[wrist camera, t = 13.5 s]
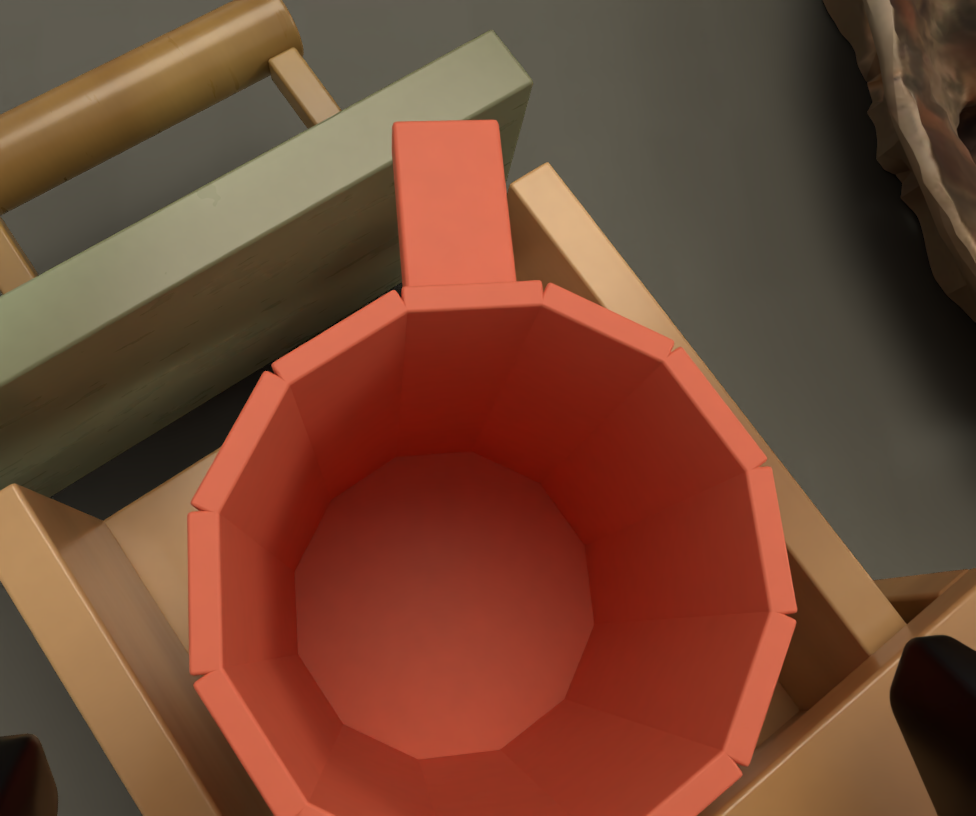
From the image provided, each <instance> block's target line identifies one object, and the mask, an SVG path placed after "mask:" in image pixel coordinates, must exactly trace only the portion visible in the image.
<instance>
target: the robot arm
mask: <svg viewBox="0 0 976 816" xmlns="http://www.w3.org/2000/svg"><path fill="white" fill-rule="evenodd" d="M889 698H890V705H891V709H892V712H893V715H894V717H895V719H896V722H897V724H898V726H899V728H900V731H901V733H902V735H903V738H904V740H905V742H906V744H907V747H908V749H909V751H910V754H911V756H912V758H913V760H914V763H915V765H916V767H917V770H918V772H919V774H920V776H921V779H922V781H923V783H924V786H925V788H926V790H927V792H928V795H929V797H930V799H931V802H932V804H933V806H934V808H935V811H936V813H937V815H938V816H976V651H975V650H973V649H972V648H970V647H968V646H967V645H965V644H963V643H962V642H960V641H958V640H956V639H955V638H953V637H950V636H947V635H932V636H923V637H915V638H912V639H910V640H909V641H908V642H907V643H906V644H905V647H904V649H903V652H902V655H901V658H900V661H899V663H898V666H897V669H896V672H895V675H894V678H893V681H892V684H891V687H890V695H889ZM57 812H58V793H57V787H56V784H55V781H54V778H53V776H52V773H51V770H50V767H49V765H48V762H47V759H46V756H45V753H44V751H43V748H42V745H41V743H40V741H39V739H38V738H37V737H36V736H35V735H33V734H20V735H11V736H2V737H0V816H57Z"/></svg>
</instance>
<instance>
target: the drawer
mask: <svg viewBox="0 0 976 816" xmlns="http://www.w3.org/2000/svg"><path fill="white" fill-rule="evenodd" d="M303 53H304V52H303V45H302V41H301V38H300V35H299V32H298V29H297V27H296V25H295V22H294V20H293V18H292V16H291V14H290V13H289V11H288V9H287V8H286V6H285V4H284V3H283V1H282V0H233V1H231V2H229V3H227V4H225V5H223V6H221V7H219V8H217V9H215V10H213V11H211V12H209V13H207V14H205V15H203V16H201V17H199V18H197V19H195V20H192V21H190V22H188V23H186V24H184V25H182V26H180V27H178V28H176V29H174V30H172V31H170V32H168V33H166V34H164V35H162V36H160V37H158V38H156V39H154V40H152V41H150V42H148V43H146V44H144V45H142V46H139V47H137V48H135V49H133V50H131V51H129V52H127V53H125V54H123V55H121V56H119V57H117V58H115V59H113V60H111V61H109V62H107V63H105V64H103V65H101V66H99V67H97V68H95V69H93V70H91V71H89V72H86V73H84V74H82V75H80V76H78V77H76V78H74V79H72V80H70V81H68V82H66V83H64V84H62V85H60V86H58V87H56V88H54V89H52V90H50V91H48V92H46V93H44V94H42V95H40V96H38V97H36V98H33V99H31V100H29V101H27V102H25V103H23V104H21V105H19V106H17V107H15V108H13V109H11V110H9V111H7V112H5V113H3V114H1V115H0V216H1V215H3V214H5V213H6V212H8V211H10V210H12V209H14V208H16V207H18V206H20V205H22V204H24V203H26V202H28V201H30V200H31V199H33V198H35V197H37V196H39V195H41V194H43V193H45V192H47V191H49V190H51V189H53V188H55V187H56V186H58V185H60V184H62V183H64V182H66V181H68V180H70V179H72V178H74V177H76V176H78V175H80V174H81V173H83V172H85V171H87V170H89V169H91V168H93V167H95V166H97V165H99V164H101V163H103V162H105V161H106V160H108V159H110V158H112V157H114V156H116V155H118V154H120V153H122V152H124V151H126V150H128V149H130V148H131V147H133V146H135V145H137V144H139V143H141V142H143V141H145V140H147V139H149V138H151V137H153V136H155V135H156V134H158V133H160V132H162V131H164V130H166V129H168V128H170V127H172V126H174V125H176V124H178V123H180V122H181V121H183V120H185V119H187V118H189V117H191V116H193V115H195V114H197V113H199V112H201V111H203V110H205V109H206V108H208V107H210V106H212V105H214V104H216V103H218V102H220V101H222V100H224V99H226V98H228V97H229V96H231V95H233V94H235V93H237V92H239V91H241V90H243V89H245V88H247V87H249V86H251V85H253V84H254V83H256V82H258V81H260V80H262V79H264V78H266V77H268V76H270V75H271V78H272V80H273V82H274V83H275V84H276V86H277V87H278V89H279V90H280V91H281V93H282V94H283V95H284V97H285V98H286V100H287V101H288V102H289V104H290V105H291V106H292V108H293V109H294V110H295V112H296V113H297V115H298V116H299V117H300V119H301V120H302V121H303V123H304V124H305V126H306V127H307V128H308V129H307V130H305V131H303V132H302V133H300V134H298V135H296V136H294V137H292V138H291V139H289V140H287V141H285V142H283V143H281V144H280V145H278V146H276V147H274V148H272V149H270V150H269V151H267V152H265V153H263V154H261V155H259V156H258V157H256V158H254V159H252V160H250V161H248V162H246V163H245V164H243V165H241V166H239V167H237V168H235V169H234V170H232V171H230V172H228V173H226V174H224V175H223V176H221V177H219V178H217V179H215V180H213V181H212V182H210V183H208V184H206V185H204V186H202V187H200V188H199V189H197V190H195V191H193V192H191V193H189V194H188V195H186V196H184V197H182V198H180V199H178V200H177V201H175V202H173V203H171V204H169V205H167V206H166V207H164V208H162V209H160V210H158V211H156V212H155V213H153V214H151V215H149V216H147V217H145V218H143V219H142V220H140V221H138V222H136V223H134V224H132V225H131V226H129V227H127V228H125V229H123V230H121V231H120V232H118V233H116V234H114V235H112V236H110V237H109V238H107V239H105V240H103V241H101V242H99V243H98V244H96V245H94V246H92V247H90V248H88V249H86V250H85V251H83V252H81V253H79V254H77V255H75V256H74V257H72V258H70V259H68V260H66V261H64V262H63V263H61V264H59V265H57V266H55V267H53V268H52V269H50V270H48V271H46V272H44V273H42V274H41V275H38V273H37V272H36V270H35V269H34V267H33V265H32V264H31V262H30V261H29V259H28V258H27V256H26V255H25V253H24V252H23V250H22V249H21V247H20V246H19V244H18V242H17V241H16V239H15V238H14V236H13V235H12V233H11V232H10V230H9V229H8V227H7V226H6V224H5V223H4V221H3V220H2V218H1V217H0V292H1V293H2V296H0V581H1V583H2V584H3V586H4V588H5V589H6V591H7V592H8V594H9V596H10V597H11V599H12V601H13V602H14V604H15V606H16V607H17V609H18V611H19V612H20V614H21V616H22V617H23V619H24V621H25V622H26V624H27V625H28V627H29V629H30V630H31V632H32V634H33V635H34V637H35V639H36V640H37V642H38V644H39V645H40V647H41V649H42V650H43V652H44V654H45V655H46V657H47V658H48V660H49V662H50V663H51V665H52V667H53V668H54V670H55V672H56V673H57V675H58V677H59V678H60V680H61V682H62V683H63V685H64V686H65V688H66V690H67V691H68V693H69V695H70V696H71V698H72V700H73V701H74V703H75V705H76V706H77V708H78V710H79V711H80V713H81V715H82V716H83V718H84V719H85V721H86V723H87V724H88V726H89V728H90V729H91V731H92V733H93V734H94V736H95V738H96V739H97V741H98V743H99V744H100V746H101V748H102V749H103V751H104V752H105V754H106V756H107V757H108V759H109V761H110V762H111V764H112V766H113V767H114V769H115V771H116V772H117V774H118V776H119V777H120V779H121V781H122V782H123V784H124V785H125V787H126V789H127V790H128V792H129V794H130V795H131V797H132V799H133V800H134V802H135V804H136V805H137V807H138V809H139V810H140V812H141V814H142V815H143V816H274V815H273V813H272V812H271V810H270V809H269V807H268V805H267V804H266V802H265V801H264V799H263V797H262V796H261V794H260V793H259V791H258V789H257V788H256V786H255V785H254V783H253V782H252V780H251V778H250V777H249V775H248V774H247V772H246V770H245V769H244V767H243V766H242V764H241V762H240V761H239V759H238V758H237V756H236V754H235V753H234V751H233V750H232V748H231V746H230V745H229V743H228V742H227V740H226V738H225V737H224V735H223V734H222V732H221V730H220V729H219V727H218V726H217V724H216V722H215V721H214V719H213V718H212V716H211V714H210V713H209V711H208V710H207V708H206V706H205V705H204V703H203V702H202V700H201V698H200V697H199V695H198V694H197V692H196V690H195V689H194V686H193V684H194V683H195V681H197V680H198V679H200V678H201V677H202V676H204V675H196V676H193V675H190V673H189V621H188V550H187V515H188V513H189V512H193V511H199V510H197V509H196V508H194V507H193V506H192V505H191V500H192V498H193V496H194V495H195V493H196V491H197V489H198V487H199V486H200V484H201V482H202V480H203V479H204V477H205V475H206V473H207V471H208V470H209V468H210V466H211V464H212V463H213V461H214V459H215V457H216V455H217V454H218V452H219V450H220V448H221V447H220V448H218V449H216V450H215V451H213V452H212V453H210V454H208V455H207V456H205V457H204V458H202V459H201V460H199V461H197V462H196V463H194V464H193V465H191V466H189V467H188V468H186V469H185V470H183V471H181V472H180V473H178V474H177V475H175V476H173V477H172V478H170V479H169V480H167V481H165V482H164V483H162V484H161V485H159V486H158V487H156V488H154V489H153V490H151V491H150V492H148V493H146V494H145V495H143V496H142V497H140V498H138V499H137V500H135V501H134V502H132V503H130V504H129V505H127V506H126V507H124V508H123V509H121V510H119V511H118V512H116V513H115V514H113V515H111V516H110V517H108V518H107V519H105V520H103V521H102V520H100V519H98V518H96V517H93V516H91V515H89V514H86V513H84V512H81V511H79V510H77V509H74V508H72V507H70V506H67V505H65V504H63V503H60V502H58V501H56V500H53V499H51V498H49V497H51V496H53V495H54V494H56V493H58V492H59V491H61V490H62V489H64V488H66V487H67V486H69V485H71V484H72V483H74V482H76V481H77V480H79V479H80V478H82V477H84V476H85V475H87V474H89V473H90V472H92V471H94V470H95V469H97V468H98V467H100V466H102V465H103V464H105V463H107V462H108V461H110V460H112V459H113V458H115V457H116V456H118V455H120V454H121V453H123V452H125V451H126V450H128V449H129V448H131V447H133V446H134V445H136V444H138V443H139V442H141V441H143V440H144V439H146V438H147V437H149V436H151V435H152V434H154V433H156V432H157V431H159V430H161V429H162V428H164V427H165V426H167V425H169V424H170V423H172V422H174V421H175V420H177V419H179V418H180V417H182V416H183V415H185V414H187V413H188V412H190V411H192V410H193V409H195V408H197V407H198V406H200V405H201V404H203V403H205V402H206V401H208V400H210V399H211V398H213V397H215V396H216V395H218V394H219V393H221V392H223V391H224V390H226V389H228V388H229V387H231V386H233V385H234V384H236V383H237V382H239V381H241V380H242V379H244V378H246V377H247V376H249V375H250V374H252V373H254V372H255V371H257V370H259V369H260V368H262V367H264V366H265V365H267V364H268V363H270V362H272V361H273V360H275V359H277V358H278V357H280V356H282V355H283V354H285V353H286V352H288V351H290V350H291V349H293V348H295V347H296V346H298V345H300V344H301V343H303V342H304V341H306V340H308V339H309V338H311V337H313V336H314V335H316V334H318V333H319V332H321V331H322V330H324V329H326V328H327V327H329V326H331V325H332V324H334V323H336V322H337V321H339V320H340V319H342V318H344V317H345V316H347V315H349V314H350V313H352V312H354V311H355V310H357V309H358V308H360V307H362V306H363V305H365V304H367V303H368V302H370V301H372V300H373V299H375V298H376V297H378V296H380V295H381V294H383V293H385V292H386V291H388V290H389V289H391V288H393V287H394V286H396V285H398V284H399V283H401V282H402V273H401V260H400V248H399V235H398V222H397V210H396V197H395V184H394V172H393V159H392V126H393V123H394V122H400V121H449V120H497V122H498V124H499V130H500V139H501V148H502V157H503V166H504V174H505V183H506V181H507V177H508V173H509V170H510V166H511V162H512V159H513V155H514V151H515V148H516V144H517V140H518V137H519V133H520V129H521V126H522V122H523V118H524V115H525V111H526V107H527V104H528V100H529V96H530V93H531V89H532V85H533V81H532V79H531V78H530V76H529V75H528V74H527V73H526V71H525V70H524V69H523V68H522V66H521V65H520V64H519V62H518V61H517V60H516V59H515V57H514V56H513V55H512V54H511V52H510V51H509V50H508V48H507V47H506V46H505V45H504V43H503V42H502V41H501V40H500V38H499V37H498V36H497V34H496V33H495V32H494V31H493V30H489V31H487V32H486V33H484V34H482V35H480V36H478V37H476V38H474V39H473V40H471V41H469V42H467V43H465V44H463V45H462V46H460V47H458V48H456V49H454V50H452V51H451V52H449V53H447V54H445V55H443V56H441V57H440V58H438V59H436V60H434V61H432V62H430V63H429V64H427V65H425V66H423V67H421V68H419V69H417V70H416V71H414V72H412V73H410V74H408V75H406V76H405V77H403V78H401V79H399V80H397V81H395V82H394V83H392V84H390V85H388V86H386V87H384V88H383V89H381V90H379V91H377V92H375V93H373V94H372V95H370V96H368V97H366V98H364V99H362V100H360V101H359V102H357V103H355V104H353V105H351V106H349V107H348V108H346V109H344V110H341V109H340V107H339V106H338V105H337V103H336V102H335V101H334V99H333V98H332V97H331V95H330V94H329V93H328V91H327V90H326V88H325V87H324V86H323V84H322V83H321V82H320V80H319V79H318V78H317V76H316V75H315V74H314V72H313V71H312V70H311V68H310V67H309V66H308V64H307V63H306V61H305V60H304V59H303ZM507 201H508V210H509V218H510V227H511V236H512V245H513V254H514V263H515V271H516V280H517V281H533V280H540V281H541V282H542V286H543V292H544V290H545V288H546V286H547V284H548V283H553V284H555V285H557V286H560V287H562V288H564V289H566V290H568V291H570V292H572V293H574V294H577V295H579V296H581V297H583V298H585V299H587V300H589V301H591V302H594V303H596V304H598V305H600V306H602V307H604V308H606V309H608V310H611V311H613V312H615V313H617V314H619V315H621V316H623V317H625V318H628V319H630V320H632V321H634V322H636V323H638V324H640V325H642V326H645V327H647V328H649V329H651V330H653V331H655V332H657V333H659V334H662V335H664V336H666V337H668V338H670V339H672V340H674V346H673V349H672V351H674V350H675V349H676V348H678V347H682V348H683V349H684V350H685V351H686V353H687V354H688V355H689V356H690V358H691V359H692V360H693V362H694V363H695V364H696V366H697V367H698V368H699V369H700V371H701V372H702V373H703V375H704V376H705V377H706V379H707V380H708V381H709V382H710V384H711V385H712V386H713V388H714V389H715V390H716V392H717V393H718V394H719V395H720V397H721V398H722V399H723V401H724V402H725V403H726V405H727V406H728V407H729V408H730V410H731V411H732V412H733V414H734V415H735V416H736V418H737V419H738V420H739V421H740V423H741V424H742V425H743V427H744V428H745V429H746V431H747V432H748V433H749V434H750V436H751V437H752V438H753V440H754V441H755V442H756V444H757V445H758V446H759V447H760V449H761V450H762V451H763V453H764V454H765V455H766V457H767V460H766V462H765V463H763V464H762V465H761V466H759V467H764V466H769V467H771V468H772V471H773V477H774V482H775V488H776V493H777V499H778V504H779V510H780V516H781V521H782V527H783V532H784V538H785V543H786V549H787V554H788V560H789V566H790V571H791V577H792V582H793V588H794V593H795V599H796V605H797V612H796V613H794V614H785V615H787V616H789V617H791V618H793V619H795V620H796V626H795V629H794V632H793V635H792V638H791V641H790V644H789V647H788V650H787V653H786V656H785V659H784V662H783V665H782V668H781V671H780V674H779V677H778V680H777V683H776V686H775V690H774V693H773V696H772V699H771V702H770V705H769V708H768V711H767V714H766V717H765V720H764V723H763V726H762V729H761V732H760V735H759V738H758V741H757V744H756V747H755V750H754V753H753V756H752V759H753V758H754V757H755V756H757V755H758V754H759V753H760V752H761V751H762V750H763V749H765V748H766V747H767V746H768V745H769V744H770V743H771V742H773V741H774V740H775V739H776V738H777V737H778V736H780V735H781V734H782V733H783V732H784V731H785V730H786V729H788V728H789V727H790V726H791V725H792V724H793V723H794V722H796V721H797V720H798V719H799V718H800V717H801V716H802V715H804V714H805V713H806V712H807V711H808V710H809V709H810V708H812V707H813V706H814V705H815V704H816V703H817V702H819V701H820V700H821V699H822V698H823V697H824V696H825V695H827V694H828V693H829V692H830V691H831V690H832V689H833V688H835V687H836V686H837V685H838V684H839V683H840V682H841V681H843V680H844V679H845V678H846V677H847V676H848V675H849V674H851V673H852V672H853V671H854V670H855V669H856V668H858V667H859V666H860V665H861V664H862V663H863V662H864V661H866V660H867V659H868V658H869V657H870V656H871V655H872V654H874V653H875V652H876V651H877V650H878V649H879V648H880V647H882V646H883V645H884V644H885V643H886V642H887V641H889V640H890V639H891V638H892V637H893V636H894V635H895V634H897V633H898V632H899V631H900V630H901V629H902V628H903V627H905V626H906V625H907V624H906V623H905V621H904V620H903V619H902V617H901V616H900V615H899V614H898V612H897V611H896V610H895V608H894V607H893V606H892V604H891V603H890V602H889V601H888V599H887V598H886V597H885V595H884V594H883V593H882V592H881V590H880V589H879V588H878V586H877V585H876V584H875V583H874V581H873V580H872V579H871V577H870V576H869V575H868V574H867V572H866V571H865V570H864V568H863V567H862V566H861V565H860V563H859V562H858V561H857V559H856V558H855V557H854V556H853V554H852V553H851V552H850V550H849V549H848V548H847V546H846V545H845V544H844V543H843V541H842V540H841V539H840V537H839V536H838V535H837V534H836V532H835V531H834V530H833V528H832V527H831V526H830V525H829V523H828V522H827V521H826V519H825V518H824V517H823V516H822V514H821V513H820V512H819V510H818V509H817V508H816V507H815V505H814V504H813V503H812V501H811V500H810V499H809V498H808V496H807V495H806V494H805V492H804V491H803V490H802V488H801V487H800V486H799V485H798V483H797V482H796V481H795V479H794V478H793V477H792V476H791V474H790V473H789V472H788V470H787V469H786V468H785V467H784V465H783V464H782V463H781V461H780V460H779V459H778V458H777V456H776V455H775V454H774V452H773V451H772V450H771V449H770V447H769V446H768V445H767V443H766V442H765V441H764V440H763V438H762V437H761V436H760V434H759V433H758V432H757V431H756V429H755V428H754V427H753V425H752V424H751V423H750V421H749V420H748V419H747V418H746V416H745V415H744V414H743V412H742V411H741V410H740V409H739V407H738V406H737V405H736V403H735V402H734V401H733V400H732V398H731V397H730V396H729V394H728V393H727V392H726V391H725V389H724V388H723V387H722V385H721V384H720V383H719V382H718V380H717V379H716V378H715V376H714V375H713V374H712V373H711V371H710V370H709V369H708V367H707V366H706V365H705V363H704V362H703V361H702V360H701V358H700V357H699V356H698V354H697V353H696V352H695V351H694V349H693V348H692V347H691V345H690V344H689V343H688V342H687V340H686V339H685V338H684V336H683V335H682V334H681V333H680V331H679V330H678V329H677V327H676V326H675V325H674V324H673V322H672V321H671V320H670V318H669V317H668V316H667V315H666V313H665V312H664V311H663V309H662V308H661V307H660V305H659V304H658V303H657V302H656V300H655V299H654V298H653V296H652V295H651V294H650V293H649V291H648V290H647V289H646V287H645V286H644V285H643V284H642V282H641V281H640V280H639V278H638V277H637V276H636V275H635V273H634V272H633V271H632V269H631V268H630V267H629V266H628V264H627V263H626V262H625V260H624V259H623V258H622V257H621V255H620V254H619V253H618V251H617V250H616V249H615V247H614V246H613V245H612V244H611V242H610V241H609V240H608V238H607V237H606V236H605V235H604V233H603V232H602V231H601V229H600V228H599V227H598V226H597V224H596V223H595V222H594V220H593V219H592V218H591V217H590V215H589V214H588V213H587V211H586V210H585V209H584V208H583V206H582V205H581V204H580V202H579V201H578V200H577V199H576V197H575V196H574V195H573V193H572V192H571V191H570V189H569V188H568V187H567V186H566V184H565V183H564V182H563V180H562V179H561V178H560V177H559V175H558V174H557V173H556V171H555V170H554V169H553V168H552V166H551V165H550V164H549V163H548V162H547V163H544V164H542V165H541V166H539V167H537V168H536V169H534V170H532V171H531V172H529V173H527V174H526V175H524V176H522V177H521V178H519V179H517V180H516V181H514V182H512V183H511V184H510V186H509V189H508V193H507ZM672 351H671V352H672ZM752 759H751V760H752ZM737 766H738V767H739V768H740V769H742V768H743V767H744V766H741V765H739V764H737Z"/></svg>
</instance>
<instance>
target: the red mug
mask: <svg viewBox="0 0 976 816" xmlns="http://www.w3.org/2000/svg"><path fill="white" fill-rule="evenodd" d="M392 159H393V172H394V184H395V197H396V210H397V222H398V235H399V248H400V260H401V273H402V285H403V287H402V290H401V297H400V296H399V294H398V293H397V291H395V290H391V291H390V292H388V293H386V294H385V295H383V296H381V297H380V298H378V299H377V300H375V301H373V302H372V303H370V304H368V305H367V306H365V307H363V308H362V309H360V310H358V311H357V312H355V313H353V314H352V315H350V316H349V317H347V318H345V319H344V320H342V321H340V322H339V323H337V324H335V325H334V326H332V327H330V328H329V329H327V330H326V331H324V332H322V333H321V334H319V335H317V336H316V337H314V338H312V339H311V340H309V341H307V342H306V343H304V344H302V345H301V346H299V347H298V348H296V349H294V350H293V351H291V352H289V353H288V354H286V355H284V356H283V357H281V358H279V359H278V360H276V361H274V362H273V363H272V364H271V365H272V369H273V371H274V374H273V373H271V372H269V371H264V372H263V374H262V375H261V377H260V379H259V381H258V382H257V384H256V386H255V388H254V390H253V391H252V393H251V395H250V397H249V398H248V400H247V402H246V404H245V406H244V407H243V409H242V411H241V413H240V414H239V416H238V418H237V420H236V422H235V423H234V425H233V427H232V429H231V430H230V432H229V434H228V436H227V438H226V439H225V441H224V443H223V445H222V446H221V448H220V450H219V452H218V454H217V455H216V457H215V459H214V461H213V463H212V464H211V466H210V468H209V470H208V471H207V473H206V475H205V477H204V479H203V480H202V482H201V484H200V486H199V487H198V489H197V491H196V493H195V495H194V496H193V498H192V500H191V505H192V506H193V507H194V508H196V509H197V510H199V511H193V512H189V513H188V515H187V550H188V621H189V673H190V675H193V676H196V675H204V676H202V677H201V678H200V679H198V680H197V681H195V683H194V684H193V686H194V689H195V690H196V692H197V694H198V695H199V697H200V698H201V700H202V702H203V703H204V705H205V706H206V708H207V710H208V711H209V713H210V714H211V716H212V718H213V719H214V721H215V722H216V724H217V726H218V727H219V729H220V730H221V732H222V734H223V735H224V737H225V738H226V740H227V742H228V743H229V745H230V746H231V748H232V750H233V751H234V753H235V754H236V756H237V758H238V759H239V761H240V762H241V764H242V766H243V767H244V769H245V770H246V772H247V774H248V775H249V777H250V778H251V780H252V782H253V783H254V785H255V786H256V788H257V789H258V791H259V793H260V794H261V796H262V797H263V799H264V801H265V802H266V804H267V805H268V807H269V809H270V810H271V812H272V813H273V815H274V816H697V815H698V814H699V813H701V812H702V811H703V810H704V809H705V808H706V807H708V806H709V805H710V804H711V803H712V802H713V801H714V800H716V799H717V798H718V797H719V796H720V795H721V794H722V793H724V792H725V791H726V790H727V789H728V788H729V787H731V786H732V785H733V784H734V783H735V782H736V781H737V780H739V779H740V778H741V777H742V775H743V774H742V771H741V770H740V768H739V767H738V766H737V764H739V765H741V766H744V767H748V766H749V765H750V762H751V759H752V756H753V753H754V750H755V747H756V744H757V741H758V738H759V735H760V732H761V729H762V726H763V723H764V720H765V717H766V714H767V711H768V708H769V705H770V702H771V699H772V696H773V693H774V690H775V686H776V683H777V680H778V677H779V674H780V671H781V668H782V665H783V662H784V659H785V656H786V653H787V650H788V647H789V644H790V641H791V638H792V635H793V632H794V629H795V626H796V620H795V619H793V618H791V617H789V616H787V615H785V614H794V613H796V612H797V605H796V599H795V593H794V588H793V582H792V577H791V571H790V566H789V560H788V554H787V549H786V543H785V538H784V532H783V527H782V521H781V516H780V510H779V504H778V499H777V493H776V488H775V482H774V477H773V471H772V468H771V467H769V466H764V467H759V466H761V465H762V464H763V463H765V462H766V460H767V457H766V455H765V454H764V453H763V451H762V450H761V449H760V447H759V446H758V445H757V444H756V442H755V441H754V440H753V438H752V437H751V436H750V434H749V433H748V432H747V431H746V429H745V428H744V427H743V425H742V424H741V423H740V421H739V420H738V419H737V418H736V416H735V415H734V414H733V412H732V411H731V410H730V408H729V407H728V406H727V405H726V403H725V402H724V401H723V399H722V398H721V397H720V395H719V394H718V393H717V392H716V390H715V389H714V388H713V386H712V385H711V384H710V382H709V381H708V380H707V379H706V377H705V376H704V375H703V373H702V372H701V371H700V369H699V368H698V367H697V366H696V364H695V363H694V362H693V360H692V359H691V358H690V356H689V355H688V354H687V353H686V351H685V350H684V349H683V348H682V347H678V348H676V349H675V350H674V351H672V349H673V346H674V340H672V339H670V338H668V337H666V336H664V335H662V334H659V333H657V332H655V331H653V330H651V329H649V328H647V327H645V326H642V325H640V324H638V323H636V322H634V321H632V320H630V319H628V318H625V317H623V316H621V315H619V314H617V313H615V312H613V311H611V310H608V309H606V308H604V307H602V306H600V305H598V304H596V303H594V302H591V301H589V300H587V299H585V298H583V297H581V296H579V295H577V294H574V293H572V292H570V291H568V290H566V289H564V288H562V287H560V286H557V285H555V284H553V283H548V284H547V286H546V288H545V290H544V292H543V286H542V282H541V281H540V280H533V281H517V280H516V271H515V263H514V254H513V245H512V236H511V227H510V218H509V210H508V201H507V192H506V183H505V174H504V166H503V157H502V148H501V139H500V130H499V124H498V122H497V120H449V121H400V122H394V123H393V126H392ZM671 351H672V352H671Z"/></svg>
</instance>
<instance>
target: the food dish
mask: <svg viewBox="0 0 976 816" xmlns="http://www.w3.org/2000/svg"><path fill="white" fill-rule="evenodd" d="M823 2H824V4H825V6H826V9H827V11H828V13H829V14H830V16H831V17H832V19H833V20H834V22H835V23H836V25H837V27H838V29H839V31H840V32H841V34H842V35H843V36H844V37H845V38H846V39H847V40H848V41H849V42H850V44H851V45H852V47H853V49H854V51H855V52H856V59H857V65H858V67H859V69H860V71H861V73H862V75H863V77H864V79H865V81H867V82H868V83H867V85H868V88H869V92H870V95H871V98H872V104H871V106H870V108H869V110H868V112H867V113H868V115H869V117H870V118H871V120H872V121H873V123H874V125H875V127H876V134H877V143H878V144H877V154H876V159H877V161H878V162H879V163H880V165H881V166H882V168H883V169H884V170H886V171H888V172H890V173H892V174H895V175H896V176H897V177H898V179H899V180H900V181H901V183H902V192H901V199H902V200H903V201H904V202H905V203H906V204H907V205H908V206H909V208H910V209H912V210H913V211H914V213H915V214H916V215H917V217H918V219H919V221H920V224H921V228H922V232H923V236H924V241H925V246H926V250H927V254H928V259H929V263H930V267H931V270H932V273H933V276H934V278H935V280H936V281H937V283H938V284H939V285H940V287H941V288H942V289H943V291H944V292H945V294H946V295H947V296H948V297H949V298H950V299H951V300H953V301H954V302H955V303H956V304H957V305H958V306H960V307H961V308H962V309H963V310H964V311H965V313H966V314H967V315H968V316H969V317H970V318H971V319H972V320H973V321H974V322H975V323H976V0H823Z"/></svg>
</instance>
